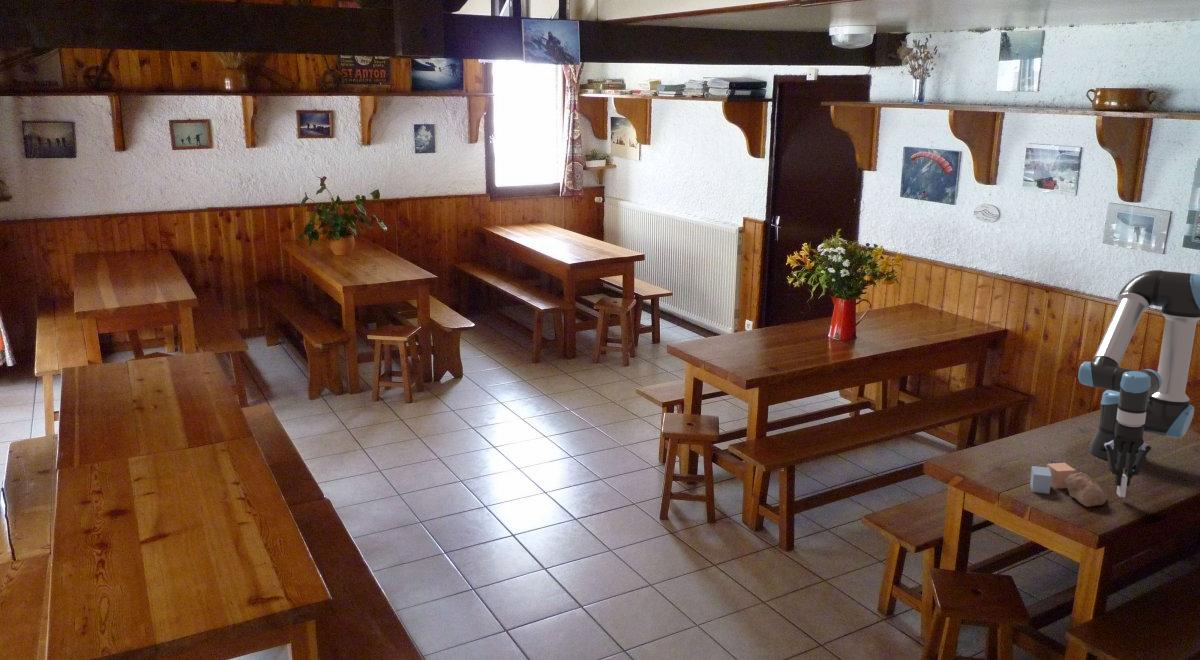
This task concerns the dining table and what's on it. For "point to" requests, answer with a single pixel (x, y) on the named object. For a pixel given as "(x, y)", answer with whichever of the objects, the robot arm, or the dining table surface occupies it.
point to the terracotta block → (1059, 474)
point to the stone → (1085, 489)
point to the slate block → (1040, 479)
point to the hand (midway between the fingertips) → (1120, 495)
